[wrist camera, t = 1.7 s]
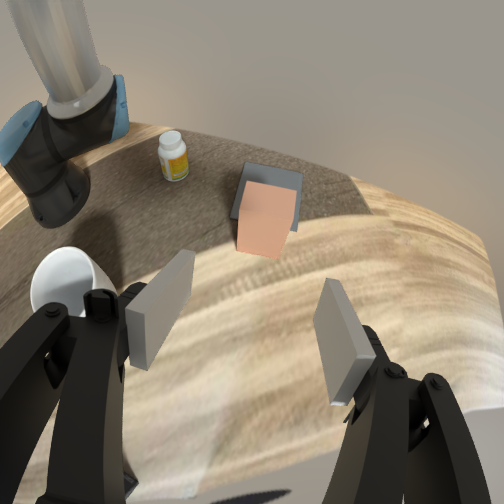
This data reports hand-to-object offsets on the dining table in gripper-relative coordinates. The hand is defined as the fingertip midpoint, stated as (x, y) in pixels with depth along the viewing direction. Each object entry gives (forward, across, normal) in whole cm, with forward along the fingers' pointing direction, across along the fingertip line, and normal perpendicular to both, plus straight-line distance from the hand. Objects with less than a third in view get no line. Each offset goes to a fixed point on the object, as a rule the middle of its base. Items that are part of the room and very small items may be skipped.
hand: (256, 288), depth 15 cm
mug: (+18, -24, -20) cm, 36 cm away
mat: (+38, 0, +1) cm, 38 cm away
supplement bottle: (+40, -19, +2) cm, 44 cm away
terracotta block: (+31, 0, -7) cm, 32 cm away
